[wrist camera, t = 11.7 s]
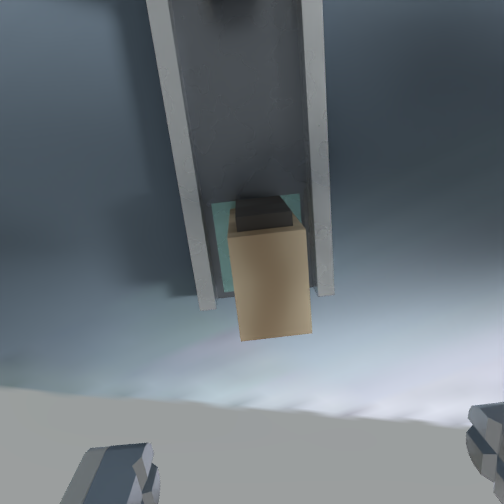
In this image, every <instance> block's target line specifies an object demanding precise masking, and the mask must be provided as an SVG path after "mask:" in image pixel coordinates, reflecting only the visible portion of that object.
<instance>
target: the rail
mask: <svg viewBox="0 0 504 504" xmlns="http://www.w3.org/2000/svg"><path fill="white" fill-rule="evenodd" d="M146 3H147V9H148V15H149V21H150V26H151V32H152V38H153V44H154V49H155V55H156V61H157V66H158V72H159V78H160V84H161V89H162V95H163V101H164V107H165V112H166V118H167V124H168V129H169V135H170V141H171V147H172V152H173V158H174V164H175V169H176V175H177V181H178V187H179V192H180V198H181V204H182V210H183V215H184V221H185V227H186V232H187V238H188V244H189V250H190V255H191V261H192V267H193V273H194V278H195V284H196V290H197V295H198V301H199V307H200V311H204V310H212V309H216V308H217V300H218V298H226V297H234V296H235V293H234V285H233V278H232V270H231V263H230V255H229V248H228V240H227V236H228V225H229V215H230V209H234V208H235V206H236V200H243V199H252V198H261V197H270V196H279V195H280V197H281V198H282V199H283V200H284V202H285V203H286V204H287V205H288V207H289V208H290V209H291V211H292V212H293V214H294V215H295V216H296V217H297V219H298V220H299V221H300V222H301V224H302V225H303V226H304V228H305V229H306V239H307V256H308V272H309V288H310V287H313V288H314V289H315V291H316V293H317V295H318V297H321V296H329V295H334V273H333V248H332V224H331V200H330V175H329V151H328V127H327V102H326V78H325V54H324V29H323V5H322V0H146Z"/></svg>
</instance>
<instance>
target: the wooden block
mask: <svg viewBox="0 0 504 504" xmlns="http://www.w3.org/2000/svg"><path fill="white" fill-rule="evenodd" d="M227 240H228V248H229V255H230V263H231V270H232V278H233V285H234V293H235V301H236V308H237V316H238V323H239V331H240V338H241V341H249V340H257V339H266V338H275V337H283V336H292V335H301V334H309V333H312V323H311V306H310V289H309V272H308V256H307V239H306V229H305V228H304V226H303V225H302V224H301V222H300V221H299V220H298V219H297V217H296V216H295V215H294V214H293V212H292V211H291V209H290V208H289V207H288V205H287V204H286V203H285V202H284V200H283V199H282V198H281V197H280V195H279V196H270V197H261V198H252V199H243V200H236V206H235V208H234V209H230V215H229V225H228V236H227Z"/></svg>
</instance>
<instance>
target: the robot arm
mask: <svg viewBox="0 0 504 504" xmlns="http://www.w3.org/2000/svg"><path fill="white" fill-rule="evenodd" d="M468 419H469V420H470V421H471V423H472V424H473V425H472V427H471V428H470V429H469V430H468V431H467V432H466V445H467V449H468V452H469V456H470V458H471V460H472V462H473V464H474V465H475V467H476V468H477V470H478V471H479V472H480V474H481V475H483V476H484V477H486V478H487V479H489V480H490V481H492V482H494V493H495V495H496V496H497V498H498V499H499V501H500V502H501V503H502V504H504V402H499V403H491V404H483V405H475V406H472V407H471V408H470V410H469V414H468ZM153 456H154V452H153V449H152V445H151V444H150V443H139V444H128V445H116V446H109V447H97V448H90V449H89V450H88V451H87V452H86V453H85V454H84V456H83V458H82V460H81V462H80V464H79V466H78V468H77V470H76V472H75V474H74V476H73V478H72V480H71V482H70V484H69V486H68V488H67V491H66V492H65V494H64V496H63V498H62V500H61V502H60V504H158V502H159V496H160V475H159V471H158V467H157V466H156V465H154V464H153V463H152V460H153Z"/></svg>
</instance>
